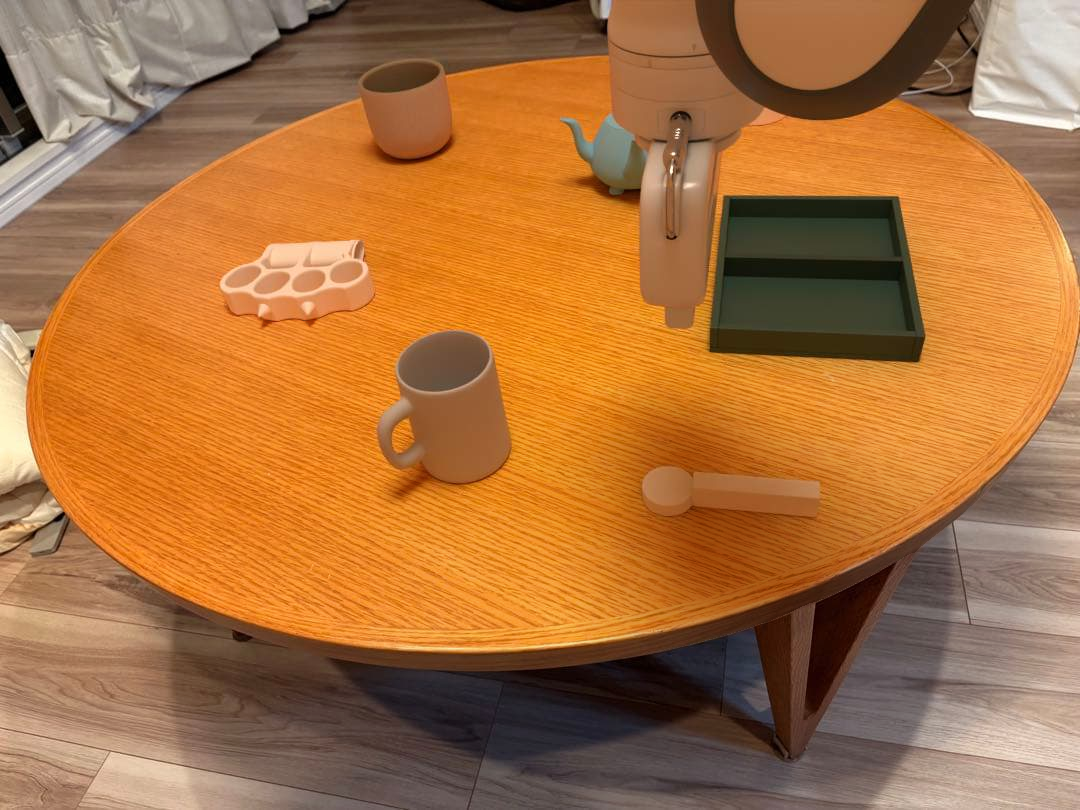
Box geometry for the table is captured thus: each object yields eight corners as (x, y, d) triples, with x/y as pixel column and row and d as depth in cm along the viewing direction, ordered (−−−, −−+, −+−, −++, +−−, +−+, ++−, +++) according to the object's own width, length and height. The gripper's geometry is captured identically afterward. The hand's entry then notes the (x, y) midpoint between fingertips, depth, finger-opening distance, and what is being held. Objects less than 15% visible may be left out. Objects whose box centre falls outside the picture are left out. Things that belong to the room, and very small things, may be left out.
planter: (414, 123, 130) (398, 53, 123) (474, 137, 124) (461, 64, 117) (359, 157, 124) (339, 86, 116) (420, 173, 118) (403, 99, 110)
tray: (893, 219, 96) (898, 195, 94) (919, 362, 78) (925, 336, 76) (722, 217, 100) (723, 194, 98) (709, 352, 82) (710, 327, 80)
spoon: (815, 488, 68) (819, 469, 67) (817, 530, 65) (821, 511, 64) (645, 474, 72) (644, 455, 70) (639, 513, 68) (638, 495, 67)
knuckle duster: (391, 253, 103) (362, 326, 92) (256, 260, 105) (213, 331, 95) (384, 230, 100) (354, 301, 90) (246, 237, 103) (202, 308, 92)
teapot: (703, 175, 108) (705, 100, 101) (635, 217, 102) (633, 141, 96) (630, 149, 116) (628, 77, 109) (564, 187, 110) (557, 114, 103)
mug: (473, 405, 80) (452, 316, 73) (530, 447, 75) (514, 356, 68) (372, 473, 75) (339, 384, 68) (426, 523, 70) (397, 433, 63)
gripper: (736, 166, 39) (725, 383, 48) (749, 14, 53) (739, 204, 62) (604, 167, 40) (619, 377, 50) (652, 18, 55) (656, 203, 64)
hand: (686, 279), depth 56 cm, fingers open, 8 cm apart
